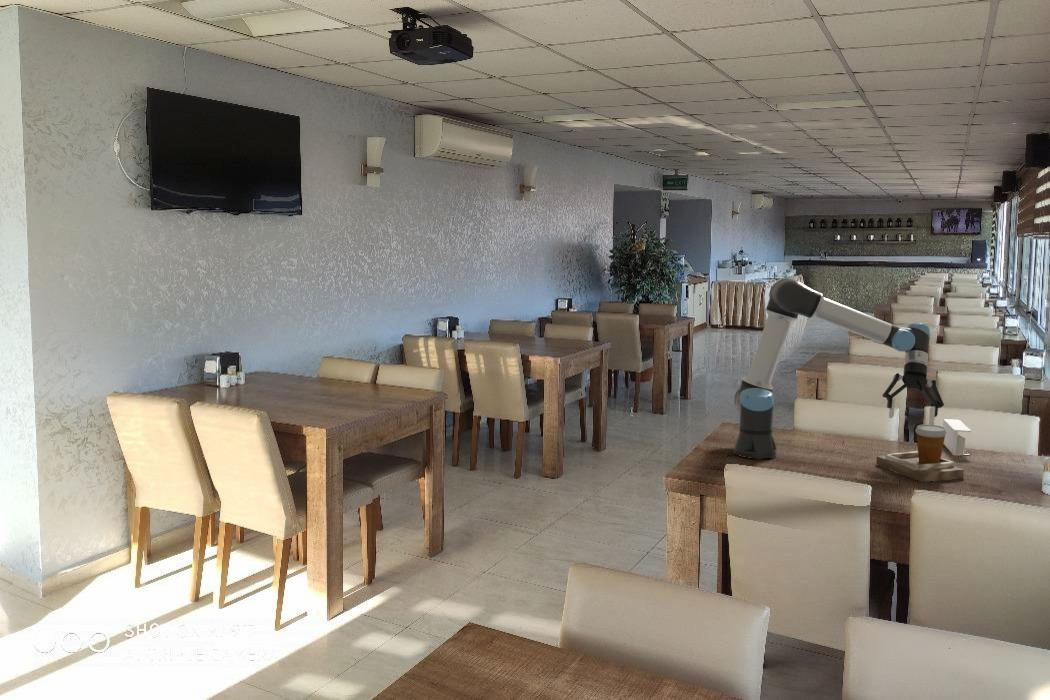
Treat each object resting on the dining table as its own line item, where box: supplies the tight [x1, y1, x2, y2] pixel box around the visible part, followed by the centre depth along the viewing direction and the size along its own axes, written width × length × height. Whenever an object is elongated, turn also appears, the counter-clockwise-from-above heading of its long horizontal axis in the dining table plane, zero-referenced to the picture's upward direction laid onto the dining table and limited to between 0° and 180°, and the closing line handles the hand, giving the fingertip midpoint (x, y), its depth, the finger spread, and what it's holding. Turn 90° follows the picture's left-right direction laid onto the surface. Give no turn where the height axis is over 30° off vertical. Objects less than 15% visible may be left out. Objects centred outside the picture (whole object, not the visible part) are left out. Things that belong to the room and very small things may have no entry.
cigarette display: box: [942, 418, 972, 455], centre depth 306 cm, size 20×6×9 cm, turn 164°
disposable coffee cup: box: [914, 423, 947, 464], centre depth 276 cm, size 10×10×12 cm
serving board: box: [875, 450, 965, 483], centre depth 277 cm, size 16×22×4 cm
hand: (911, 421), depth 289 cm, fingers open, 13 cm apart
